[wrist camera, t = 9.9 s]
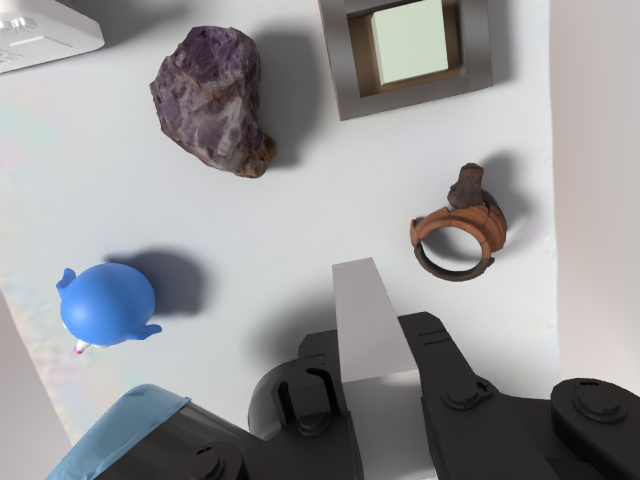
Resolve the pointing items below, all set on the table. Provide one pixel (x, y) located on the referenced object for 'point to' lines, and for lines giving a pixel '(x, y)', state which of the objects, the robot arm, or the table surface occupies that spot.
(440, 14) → the sage key
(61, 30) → the cable organizer
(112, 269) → the blue rounded piece
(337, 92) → the keypad
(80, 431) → the table surface
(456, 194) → the pottery mug
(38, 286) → the table surface
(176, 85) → the rock
